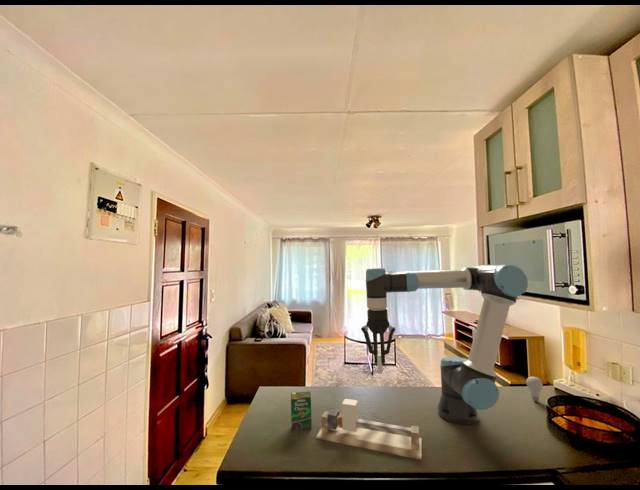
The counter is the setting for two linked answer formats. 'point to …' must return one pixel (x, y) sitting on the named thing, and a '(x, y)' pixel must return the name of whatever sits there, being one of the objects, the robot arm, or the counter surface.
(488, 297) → the robot arm
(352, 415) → the sleeve
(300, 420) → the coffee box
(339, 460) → the counter surface
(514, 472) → the counter surface
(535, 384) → the lightbulb
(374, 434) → the stand
